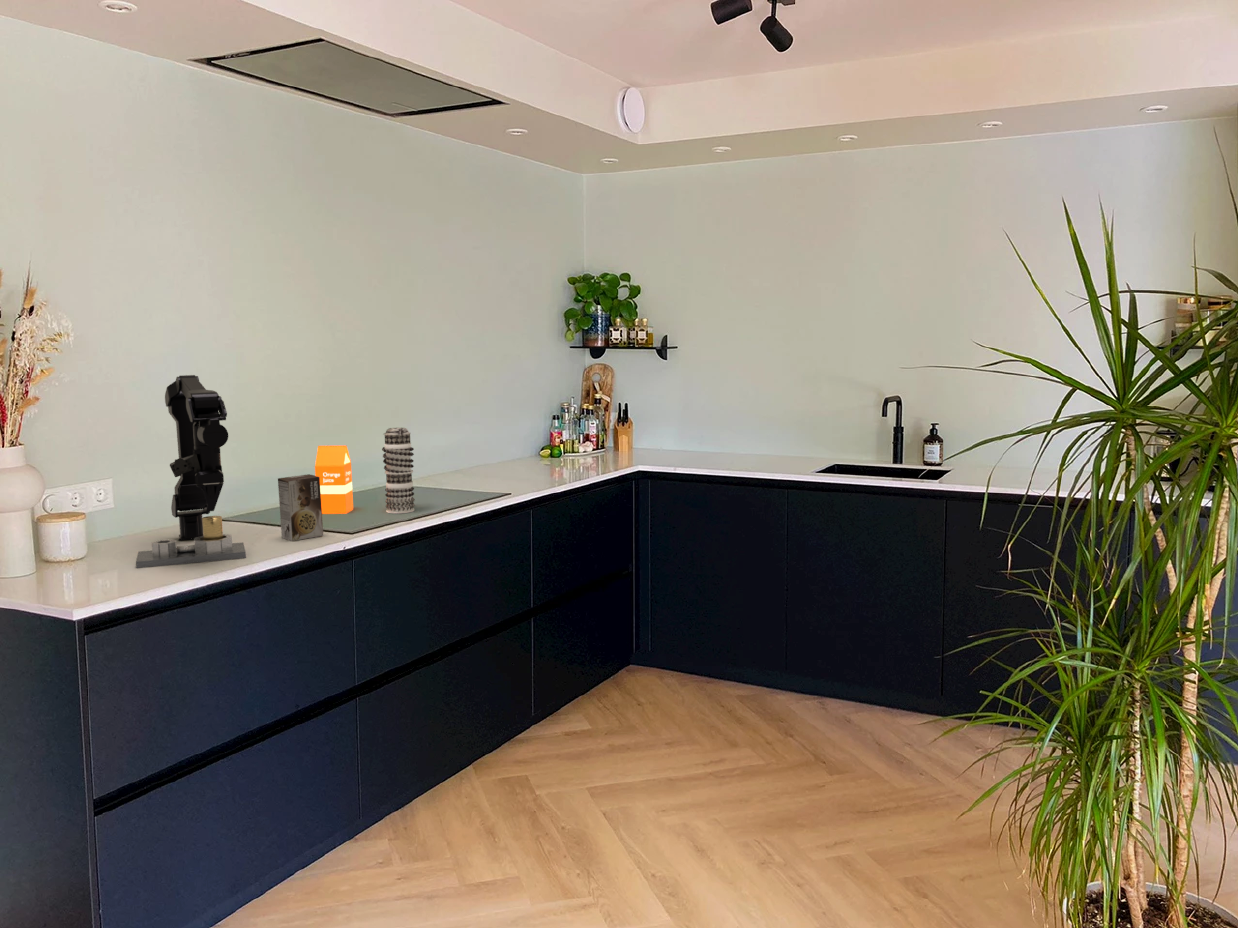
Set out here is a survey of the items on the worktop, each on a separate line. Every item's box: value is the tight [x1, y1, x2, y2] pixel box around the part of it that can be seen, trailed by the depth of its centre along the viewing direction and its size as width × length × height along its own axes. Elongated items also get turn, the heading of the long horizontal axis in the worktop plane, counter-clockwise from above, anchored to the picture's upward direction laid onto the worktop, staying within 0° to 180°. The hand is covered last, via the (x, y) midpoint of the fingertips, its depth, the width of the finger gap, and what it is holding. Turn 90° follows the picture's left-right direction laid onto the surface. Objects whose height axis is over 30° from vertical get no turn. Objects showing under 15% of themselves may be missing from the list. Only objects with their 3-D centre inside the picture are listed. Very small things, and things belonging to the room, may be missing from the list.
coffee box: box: [277, 473, 324, 542], centre depth 269 cm, size 9×6×16 cm
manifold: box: [135, 533, 247, 569], centre depth 247 cm, size 12×24×4 cm, turn 113°
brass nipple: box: [202, 515, 224, 540], centre depth 248 cm, size 4×4×8 cm
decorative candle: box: [381, 427, 416, 515], centre depth 305 cm, size 9×9×25 cm
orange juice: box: [314, 445, 354, 515], centre depth 306 cm, size 8×9×20 cm
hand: (211, 508), depth 247 cm, fingers open, 9 cm apart
